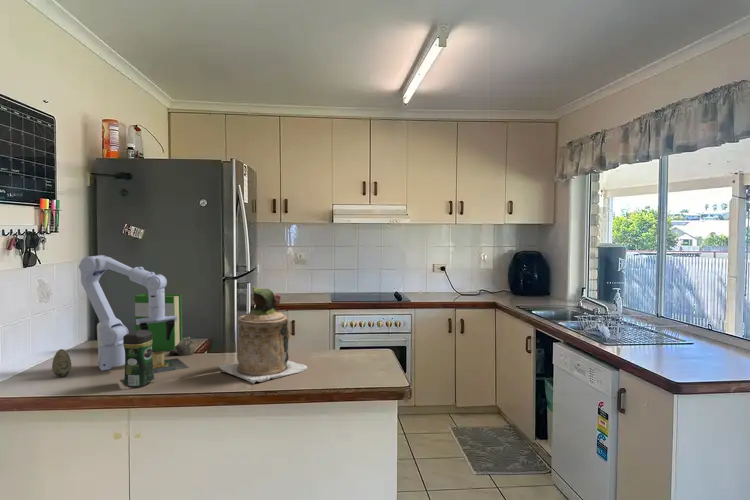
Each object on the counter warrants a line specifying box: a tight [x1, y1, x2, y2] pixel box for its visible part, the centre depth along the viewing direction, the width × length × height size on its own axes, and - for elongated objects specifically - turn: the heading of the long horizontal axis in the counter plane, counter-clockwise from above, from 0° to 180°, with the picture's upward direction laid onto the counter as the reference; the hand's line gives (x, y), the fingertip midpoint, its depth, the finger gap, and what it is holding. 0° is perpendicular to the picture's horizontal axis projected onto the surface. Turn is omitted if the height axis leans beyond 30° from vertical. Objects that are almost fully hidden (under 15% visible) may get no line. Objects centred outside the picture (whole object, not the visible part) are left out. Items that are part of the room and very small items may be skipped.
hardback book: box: [134, 293, 183, 352], centre depth 229 cm, size 18×7×24 cm, turn 84°
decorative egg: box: [51, 348, 72, 378], centre depth 187 cm, size 6×6×10 cm
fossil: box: [168, 336, 196, 357], centre depth 218 cm, size 11×9×10 cm
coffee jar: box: [123, 330, 155, 388], centre depth 178 cm, size 10×8×19 cm
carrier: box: [153, 357, 190, 374], centre depth 198 cm, size 15×17×4 cm
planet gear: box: [152, 351, 169, 368], centre depth 194 cm, size 7×7×6 cm
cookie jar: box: [218, 286, 308, 385], centre depth 193 cm, size 25×25×32 cm
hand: (157, 341), depth 199 cm, fingers open, 7 cm apart
